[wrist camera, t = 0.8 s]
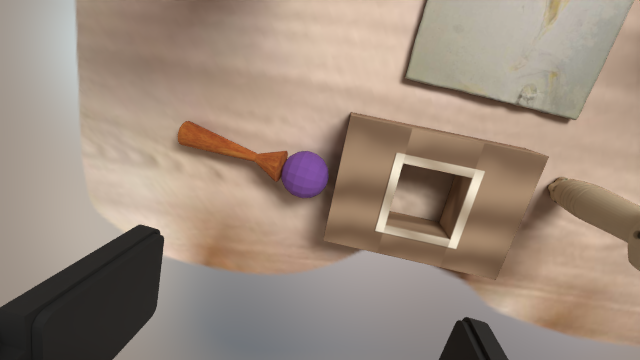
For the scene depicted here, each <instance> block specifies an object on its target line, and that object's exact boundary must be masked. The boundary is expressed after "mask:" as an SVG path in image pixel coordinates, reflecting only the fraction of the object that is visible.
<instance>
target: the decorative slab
mask: <svg viewBox="0 0 640 360" xmlns="http://www.w3.org/2000/svg"><path fill="white" fill-rule="evenodd" d="M633 2H634V0H427V3H426V6H425V9H424V14H423V17H422V21H421V23H420V25H419V30H418V33H417V36H416V39H415V43H414V46H413V50H412V54H411V58H410V63H409V66H408V70H407V73H406V76H405V77H406V79H409V80H413V81H416V82H420V83H424V84H428V85H432V86H437V87H443V88H449V89H454V90H458V91H462V92H465V93H468V94H472V95H477V96H481V97H485V98H489V99H493V100H497V101H500V102H505V103H510V104H513V105H516V106H520V107H525V108H529V109H534V110H538V111H541V112H542V113H549V114H553V115H557V116H561V117H565V118H568V119H572V120H576V119H577V118H578V117H579V115H580V113H581V111H582V109H583V106H584V104H585V102H586V100H587V98H588V96H589V94H590V92H591V89H592V87H593V85H594V83H595V81H596V79H597V77H598V75H599V73H600V71H601V69H602V67H603V65H604V63H605V61H606V59H607V56H608V54H609V51H610V49H611V47H612V46H613V44H614V42H615V39H616V37H617V35H618V33H619V31H620V29H621V27H622V25H623V23H624V21H625V18H626V16H627V14H628V12H629V9H630V8H631V6H632V4H633Z"/></svg>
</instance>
